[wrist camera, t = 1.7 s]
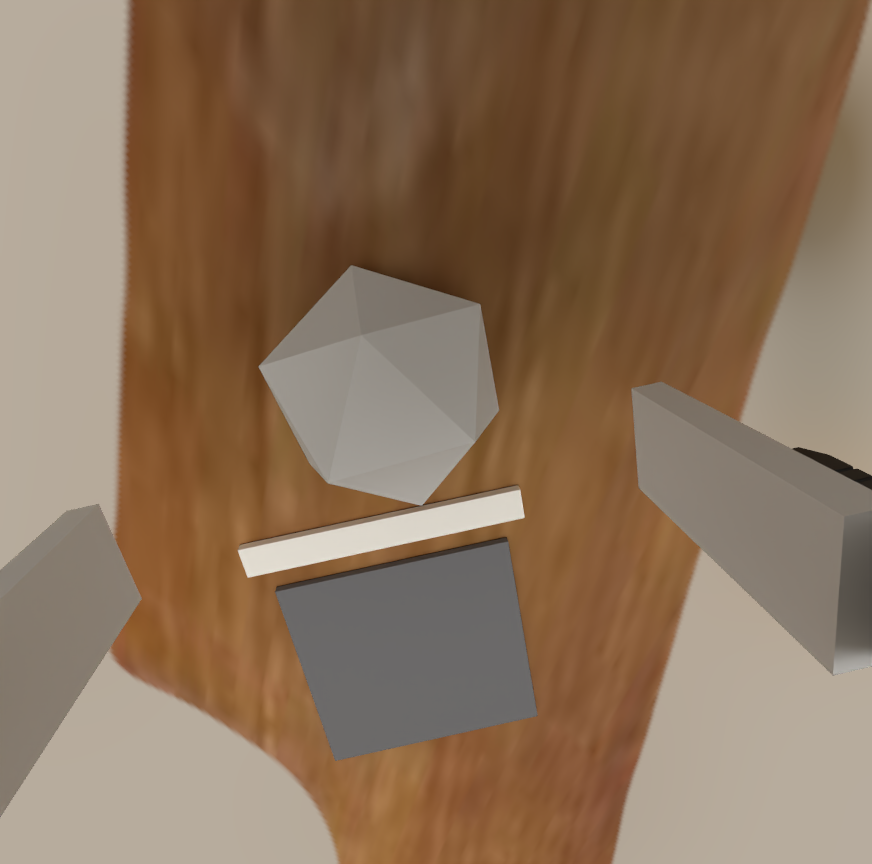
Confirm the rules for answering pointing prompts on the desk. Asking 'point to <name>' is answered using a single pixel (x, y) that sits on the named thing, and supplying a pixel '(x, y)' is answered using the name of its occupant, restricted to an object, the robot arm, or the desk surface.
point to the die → (385, 384)
